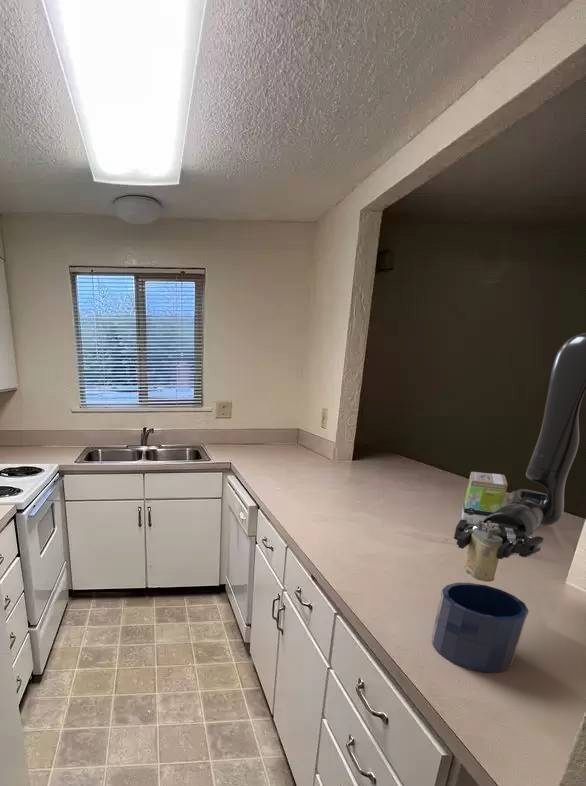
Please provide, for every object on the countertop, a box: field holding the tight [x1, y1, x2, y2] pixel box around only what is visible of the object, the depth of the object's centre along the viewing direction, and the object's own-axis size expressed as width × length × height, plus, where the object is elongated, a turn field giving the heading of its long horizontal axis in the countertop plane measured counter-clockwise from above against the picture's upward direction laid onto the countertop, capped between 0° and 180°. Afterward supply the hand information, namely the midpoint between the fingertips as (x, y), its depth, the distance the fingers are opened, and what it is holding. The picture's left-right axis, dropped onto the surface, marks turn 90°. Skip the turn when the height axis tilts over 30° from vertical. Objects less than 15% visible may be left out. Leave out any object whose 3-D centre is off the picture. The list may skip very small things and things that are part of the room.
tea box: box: [461, 471, 509, 525], centre depth 145 cm, size 15×10×15 cm
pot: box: [431, 582, 530, 674], centre depth 80 cm, size 13×13×11 cm
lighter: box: [463, 520, 503, 583], centre depth 80 cm, size 7×4×10 cm, turn 169°
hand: (480, 548), depth 78 cm, fingers closed on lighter, 5 cm apart
